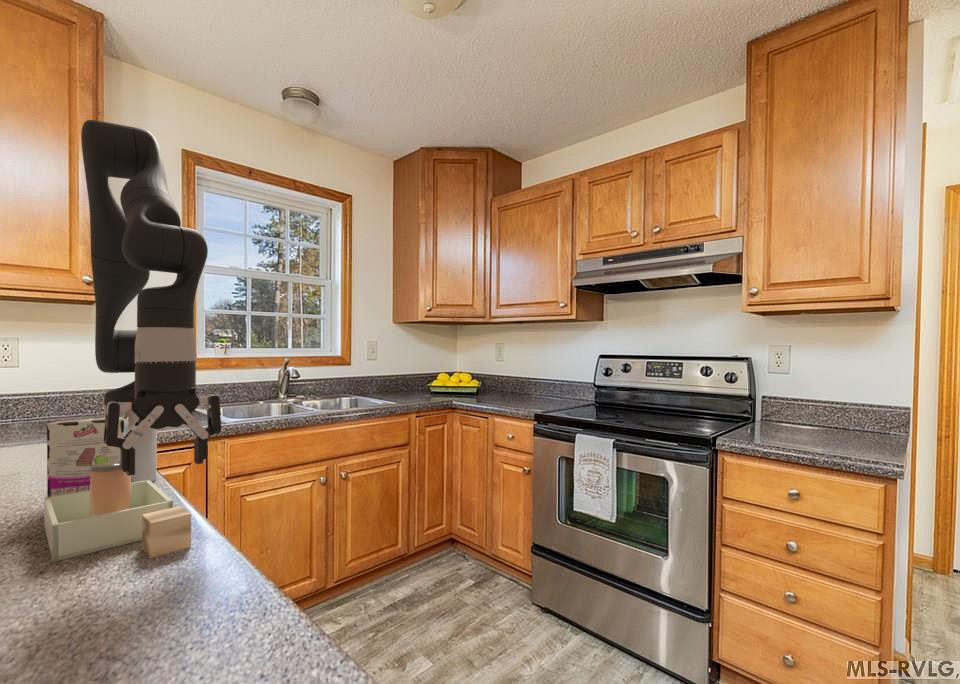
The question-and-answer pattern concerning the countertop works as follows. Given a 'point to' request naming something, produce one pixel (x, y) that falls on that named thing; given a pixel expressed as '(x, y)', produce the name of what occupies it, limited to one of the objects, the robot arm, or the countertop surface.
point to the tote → (97, 521)
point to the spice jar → (109, 488)
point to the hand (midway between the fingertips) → (165, 468)
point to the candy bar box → (77, 452)
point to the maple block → (166, 531)
